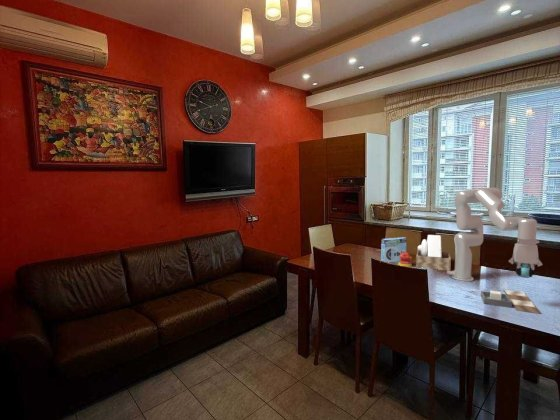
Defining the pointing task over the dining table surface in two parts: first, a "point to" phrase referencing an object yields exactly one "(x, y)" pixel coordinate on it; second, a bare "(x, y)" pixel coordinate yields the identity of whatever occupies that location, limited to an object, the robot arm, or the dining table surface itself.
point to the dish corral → (434, 261)
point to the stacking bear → (405, 260)
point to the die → (495, 295)
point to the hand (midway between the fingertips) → (524, 275)
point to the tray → (503, 302)
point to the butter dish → (431, 246)
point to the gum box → (392, 249)
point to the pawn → (525, 270)
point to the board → (521, 301)
